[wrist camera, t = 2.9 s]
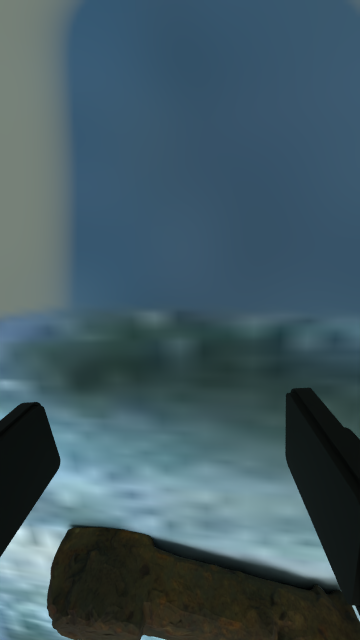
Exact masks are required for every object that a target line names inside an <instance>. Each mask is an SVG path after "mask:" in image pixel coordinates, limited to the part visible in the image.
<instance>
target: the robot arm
mask: <svg viewBox="0 0 360 640" xmlns="http://www.w3.org/2000/svg"><path fill="white" fill-rule="evenodd" d="M285 453H286V460H287V464H288V467H289V469H290V471H291V474H292V476H293V478H294V481H295V483H296V485H297V488H298V490H299V492H300V495H301V497H302V499H303V502H304V504H305V506H306V509H307V511H308V513H309V516H310V518H311V521H312V523H313V525H314V528H315V530H316V532H317V535H318V537H319V539H320V542H321V544H322V546H323V549H324V551H325V553H326V556H327V558H328V560H329V563H330V565H331V568H332V570H333V572H334V575H335V577H336V579H337V582H338V584H339V586H340V589H341V591H342V593H343V595H344V598H345V599H346V601H347V603H348V604H349V605H355V606H356V608H357V610H358V613H359V615H360V440H359V438H358V437H357V436H356V435H355V434H354V433H353V432H352V431H351V430H350V429H348V428H346V427H343V426H342V424H341V423H340V422H339V421H338V420H337V419H336V417H335V416H334V415H333V414H332V413H331V412H330V410H329V409H328V408H327V407H326V406H325V404H324V403H323V402H322V401H321V400H320V399H319V397H318V396H317V395H316V394H315V393H314V391H313V390H312V389H311V388H294V389H292V390H291V393H287V394H286V452H285ZM59 466H60V456H59V453H58V450H57V447H56V444H55V441H54V437H53V434H52V431H51V428H50V425H49V422H48V418H47V415H46V412H45V409H44V407H43V406H41V404H40V403H38V402H31V403H22V404H20V405H18V406H17V407H16V408H15V409H14V410H12V411H11V412H10V413H9V414H8V415H6V416H5V417H4V418H3V419H1V420H0V557H1V555H2V554H3V552H4V551H5V549H6V548H7V546H8V545H9V543H10V542H11V540H12V539H13V537H14V536H15V534H16V533H17V531H18V530H19V528H20V526H21V525H22V523H23V522H24V520H25V519H26V517H27V516H28V514H29V513H30V511H31V510H32V508H33V507H34V505H35V504H36V502H37V501H38V499H39V498H40V496H41V495H42V493H43V492H44V490H45V489H46V487H47V486H48V484H49V483H50V481H51V480H52V478H53V477H54V475H55V474H56V472H57V471H58V469H59Z"/></svg>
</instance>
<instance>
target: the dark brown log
mask: <svg viewBox="0 0 360 640" xmlns="http://www.w3.org/2000/svg"><path fill="white" fill-rule="evenodd" d="M47 609H48V612H49V617H50V618H51V619H52V626H53V628H54V629H56V630H57V631H58V633H60V634H61V635H62V636H65V637H68V638H70V639H73V640H140V639H141V636H143V635H147V636H154V637H158V638H162V639H166V640H360V621H359V620H358V618H357V616H356V614H355V611H354V609H353V607H352V605H349V604H348V603H347V601H346V599H345V598H344V595H343V593H342V592H341V591H340V590H335V591H333V592H332V593H331V594H330V595H329V594H326V593H325V592H324V591H323V590H322V589H321V588H320V587H319V586H318V585H315V586H313V589H312V590H305V589H301V588H298V587H293V586H290V585H286V584H281V583H277V582H273V581H269V580H265V579H261V578H258V577H255V576H251V575H247V574H244V573H242V572H240V571H234V570H229V569H226V568H222V567H219V566H216V565H212V564H206V563H202V562H199V561H195V560H191V559H187V558H182V557H178V556H175V555H173V554H171V553H169V552H165V551H162V550H160V549H158V548H155V546H154V541H153V539H152V538H151V537H150V536H149V535H145V534H141V533H137V532H132V531H127V530H121V529H113V528H101V527H84V528H80V527H73V528H71V529H69V530H68V531H67V533H66V535H65V537H64V539H63V540H62V542H61V544H60V546H59V548H58V550H57V552H56V555H55V557H54V560H53V563H52V566H51V579H50V585H49V589H48V596H47Z"/></svg>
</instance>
